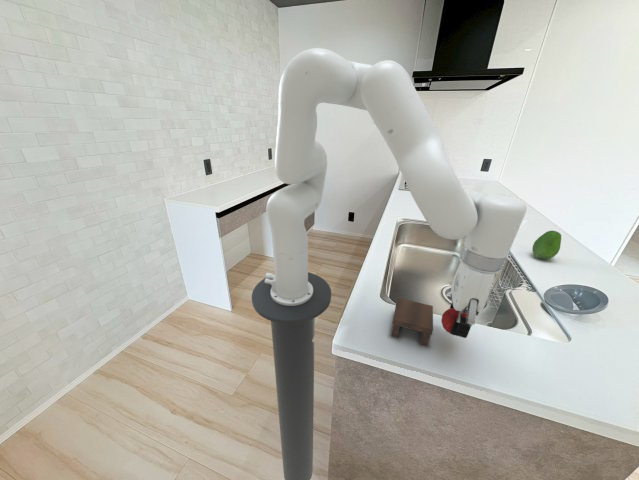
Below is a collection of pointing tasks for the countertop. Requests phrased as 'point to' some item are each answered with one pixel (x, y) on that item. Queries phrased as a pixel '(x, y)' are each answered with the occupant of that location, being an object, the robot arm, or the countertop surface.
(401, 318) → the stand
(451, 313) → the onion
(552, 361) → the countertop surface
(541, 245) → the avocado
